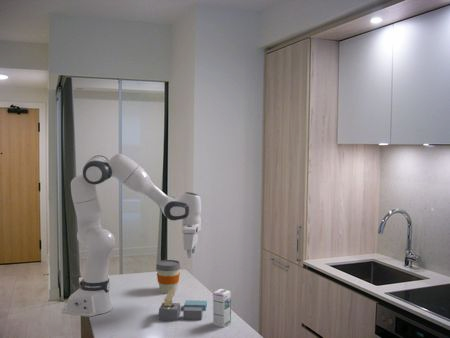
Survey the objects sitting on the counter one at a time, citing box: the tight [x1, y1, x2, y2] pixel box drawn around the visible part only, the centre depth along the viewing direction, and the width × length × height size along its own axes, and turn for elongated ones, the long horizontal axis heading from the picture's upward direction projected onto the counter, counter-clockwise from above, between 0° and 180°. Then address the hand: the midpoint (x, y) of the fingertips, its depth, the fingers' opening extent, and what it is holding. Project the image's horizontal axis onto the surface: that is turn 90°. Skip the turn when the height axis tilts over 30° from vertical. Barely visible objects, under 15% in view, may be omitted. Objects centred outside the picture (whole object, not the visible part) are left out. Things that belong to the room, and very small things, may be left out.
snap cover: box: [183, 299, 208, 312], centre depth 216 cm, size 10×6×3 cm, turn 87°
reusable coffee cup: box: [155, 259, 181, 294], centre depth 240 cm, size 13×13×15 cm
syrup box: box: [212, 288, 232, 328], centre depth 196 cm, size 6×6×14 cm
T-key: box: [164, 289, 176, 308], centre depth 204 cm, size 14×2×10 cm, turn 176°
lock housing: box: [158, 302, 203, 322], centre depth 204 cm, size 18×8×5 cm, turn 86°
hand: (191, 255), depth 217 cm, fingers open, 8 cm apart
